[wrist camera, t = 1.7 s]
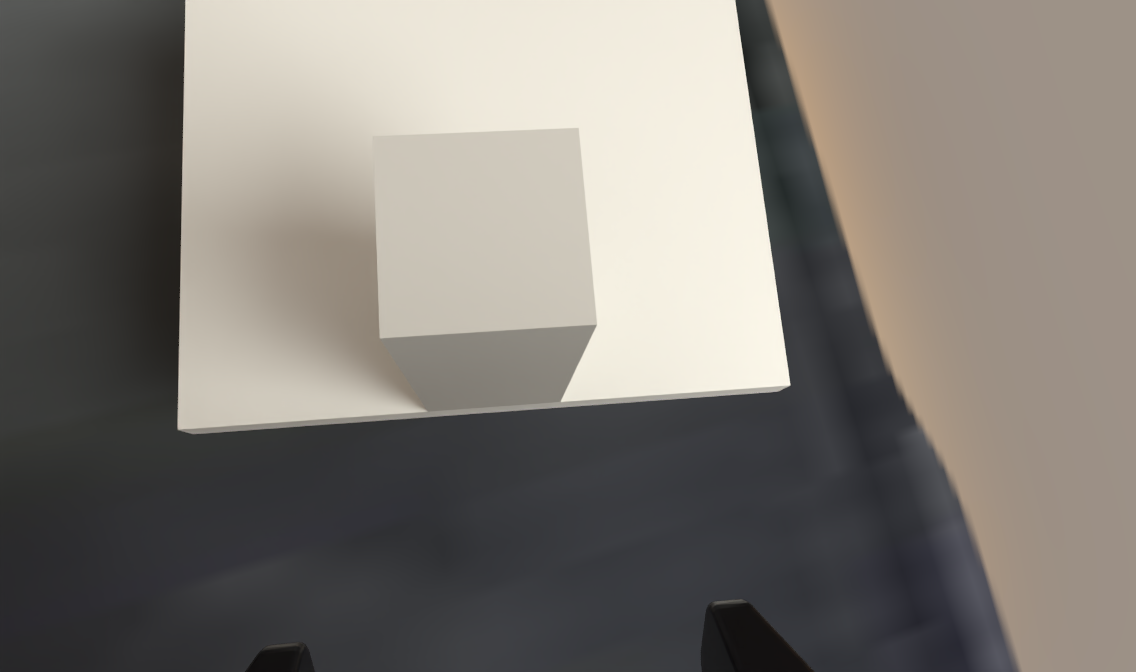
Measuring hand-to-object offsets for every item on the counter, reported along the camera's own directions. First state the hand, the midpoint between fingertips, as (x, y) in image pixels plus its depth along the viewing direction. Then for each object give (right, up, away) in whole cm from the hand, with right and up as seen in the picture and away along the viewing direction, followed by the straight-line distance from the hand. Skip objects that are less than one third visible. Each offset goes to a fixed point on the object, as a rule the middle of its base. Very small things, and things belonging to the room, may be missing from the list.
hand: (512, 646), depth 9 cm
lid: (-1, +7, +9) cm, 12 cm away
